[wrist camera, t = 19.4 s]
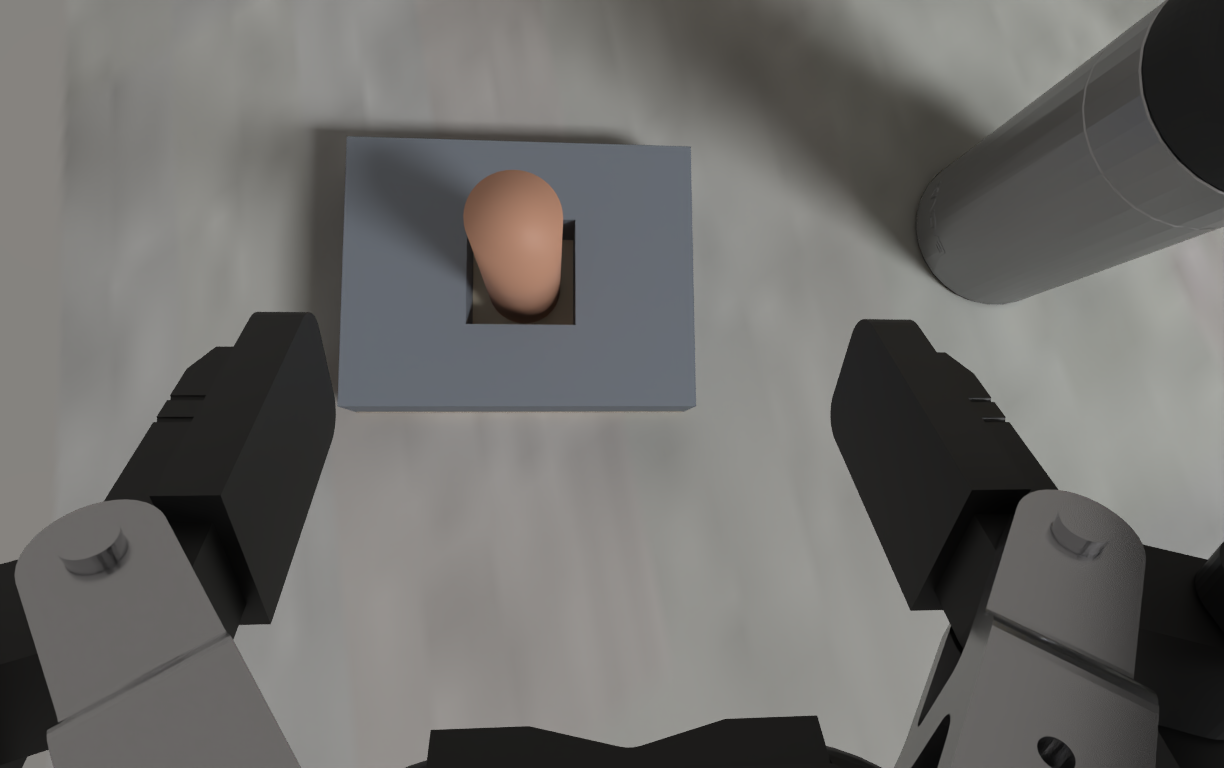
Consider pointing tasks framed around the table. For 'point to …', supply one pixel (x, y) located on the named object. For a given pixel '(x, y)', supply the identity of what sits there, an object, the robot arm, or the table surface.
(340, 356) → the socket block
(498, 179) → the peg
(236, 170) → the table surface
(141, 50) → the table surface
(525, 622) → the table surface
